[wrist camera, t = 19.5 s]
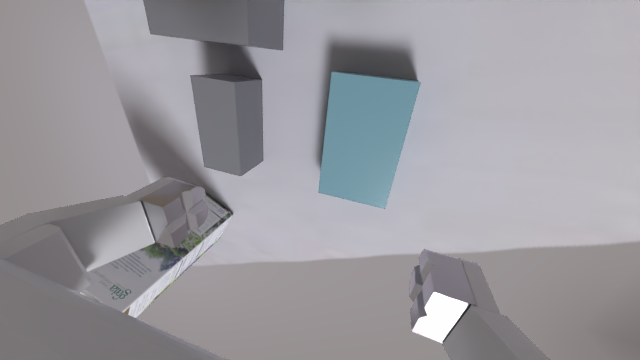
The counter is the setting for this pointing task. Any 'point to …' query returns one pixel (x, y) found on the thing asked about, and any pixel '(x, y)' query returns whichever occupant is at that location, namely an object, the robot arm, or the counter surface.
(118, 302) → the syrup box
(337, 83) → the cover
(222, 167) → the block
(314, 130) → the counter surface
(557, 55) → the counter surface
